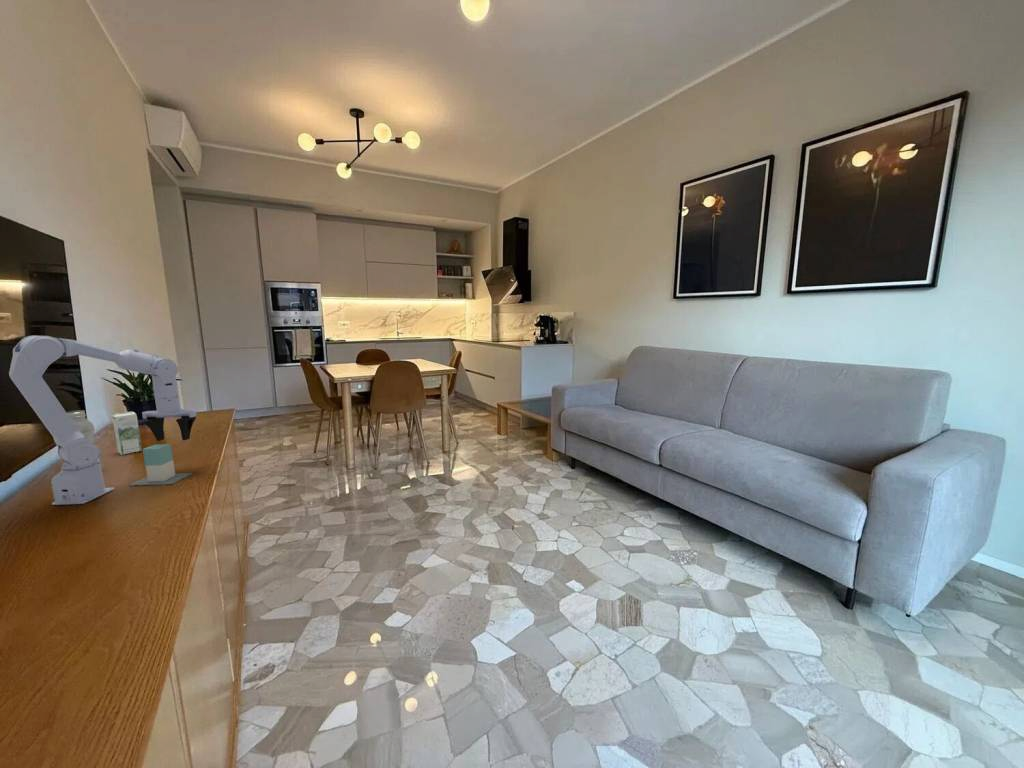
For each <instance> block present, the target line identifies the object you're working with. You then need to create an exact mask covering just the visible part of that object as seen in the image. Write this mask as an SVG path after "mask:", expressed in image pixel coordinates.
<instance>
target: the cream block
mask: <svg viewBox="0 0 1024 768" xmlns="http://www.w3.org/2000/svg"><path fill="white" fill-rule="evenodd" d="M174 463H175V462H174V459H173V460H172V461H169V462H167V463H165V464H163V465H149V466H145V469H146V477H148V482H150V481H165V480H167V479H169V478H171V477H173V476H175V474H176V471H175V470H176V469H175V464H174Z"/></svg>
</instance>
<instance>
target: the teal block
mask: <svg viewBox="0 0 1024 768" xmlns="http://www.w3.org/2000/svg"><path fill="white" fill-rule="evenodd" d="M142 453H143V458H144V459H143V460H144V466H145V467H146V466H149V465H163V464H165V463H167V462H169V461H172V460H173V461H174V459H173V451H172V445H171V443H163V444H162V443H161V444H153V445H150V446H148V447H145V448H142Z"/></svg>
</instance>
